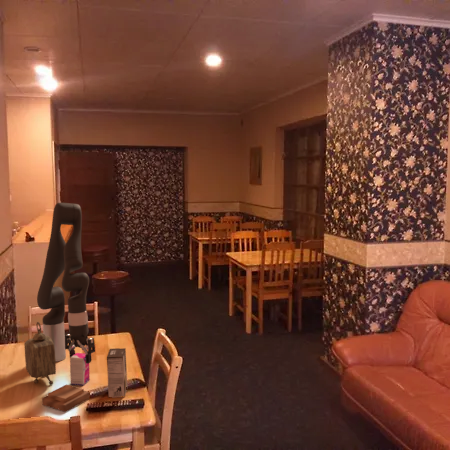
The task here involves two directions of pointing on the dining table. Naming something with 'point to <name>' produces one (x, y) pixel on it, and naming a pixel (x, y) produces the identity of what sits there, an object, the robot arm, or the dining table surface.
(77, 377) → the supplement box
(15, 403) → the dining table surface
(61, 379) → the dining table surface
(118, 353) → the coffee box
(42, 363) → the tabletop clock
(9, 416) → the dining table surface
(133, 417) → the dining table surface
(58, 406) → the walnut base
